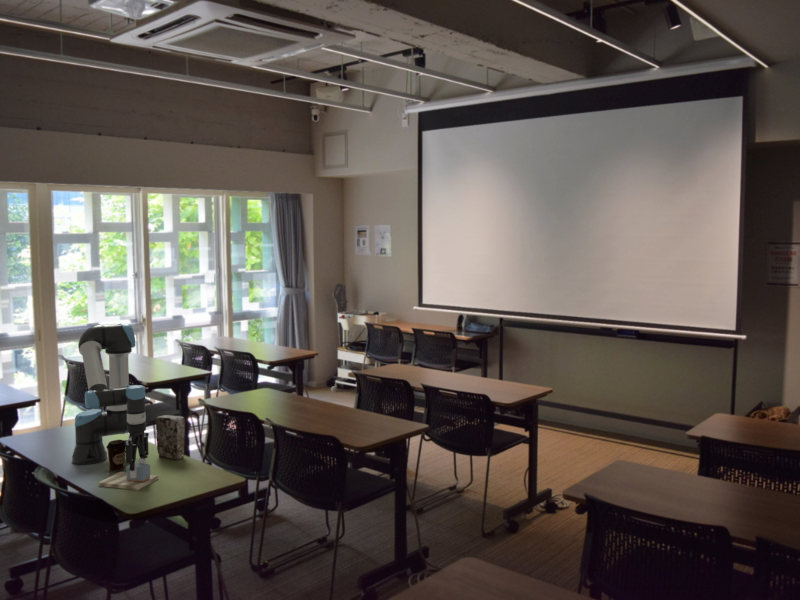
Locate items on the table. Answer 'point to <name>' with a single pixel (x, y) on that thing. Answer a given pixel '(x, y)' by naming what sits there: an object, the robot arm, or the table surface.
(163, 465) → the table surface
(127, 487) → the board
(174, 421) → the stone block
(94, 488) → the table surface
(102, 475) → the table surface
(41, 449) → the table surface
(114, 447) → the coffee cup
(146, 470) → the block
